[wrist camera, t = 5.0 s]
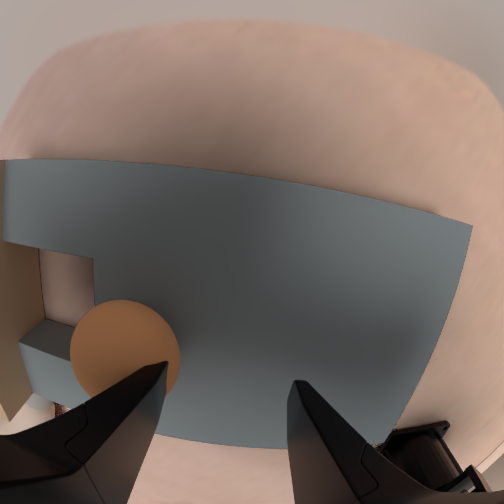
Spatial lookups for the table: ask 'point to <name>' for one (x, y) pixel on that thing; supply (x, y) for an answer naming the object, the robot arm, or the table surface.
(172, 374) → the ball
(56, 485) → the robot arm
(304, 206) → the notched base with backboard
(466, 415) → the table surface
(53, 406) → the light bulb
